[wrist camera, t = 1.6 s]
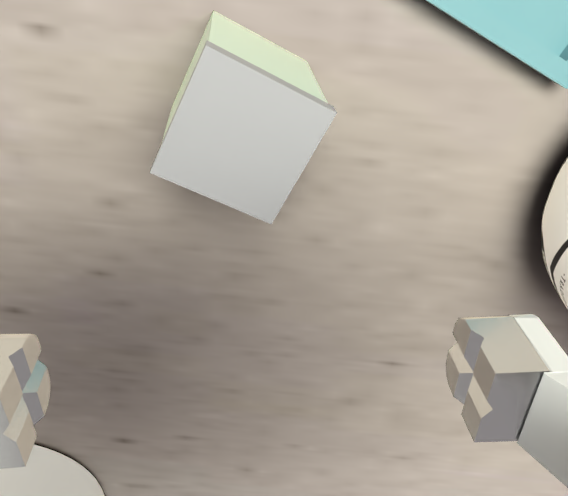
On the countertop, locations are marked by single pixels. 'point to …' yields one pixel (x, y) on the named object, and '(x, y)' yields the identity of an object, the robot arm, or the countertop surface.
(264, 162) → the tea tin
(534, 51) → the tray
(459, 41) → the countertop surface
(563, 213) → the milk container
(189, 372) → the countertop surface
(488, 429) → the robot arm
